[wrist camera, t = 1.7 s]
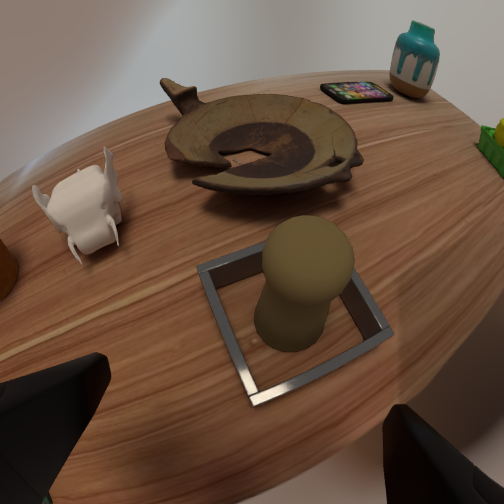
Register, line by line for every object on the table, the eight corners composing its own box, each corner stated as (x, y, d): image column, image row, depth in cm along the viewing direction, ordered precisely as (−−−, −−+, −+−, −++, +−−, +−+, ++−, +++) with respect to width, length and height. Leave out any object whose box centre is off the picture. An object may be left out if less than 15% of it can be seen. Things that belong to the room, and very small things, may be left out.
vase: (377, 81, 54) (391, 12, 38) (411, 87, 54) (426, 24, 38) (400, 101, 48) (419, 24, 32) (434, 107, 49) (455, 39, 33)
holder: (377, 346, 22) (395, 334, 19) (253, 408, 19) (253, 407, 16) (315, 243, 28) (322, 220, 25) (202, 285, 25) (195, 265, 22)
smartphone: (317, 83, 47) (371, 81, 51) (317, 87, 48) (370, 85, 51) (342, 100, 43) (396, 97, 46) (341, 104, 44) (395, 101, 47)
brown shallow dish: (227, 267, 26) (219, 212, 20) (143, 127, 40) (133, 87, 34) (387, 187, 32) (407, 139, 26) (261, 91, 47) (261, 55, 40)
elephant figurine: (72, 288, 25) (24, 238, 17) (63, 213, 31) (32, 163, 23) (150, 249, 27) (120, 185, 20) (125, 181, 33) (104, 125, 26)
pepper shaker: (258, 357, 22) (262, 304, 12) (250, 289, 25) (247, 202, 16) (331, 346, 22) (384, 287, 13) (316, 282, 25) (349, 196, 16)
